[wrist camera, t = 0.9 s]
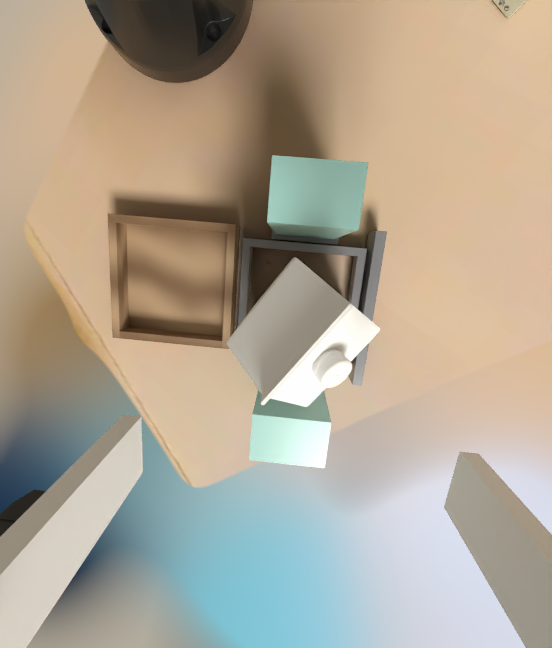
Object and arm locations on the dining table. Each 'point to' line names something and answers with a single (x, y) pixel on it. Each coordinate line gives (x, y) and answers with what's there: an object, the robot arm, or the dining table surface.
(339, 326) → the milk carton
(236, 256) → the tray
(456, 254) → the dining table surface
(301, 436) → the holder
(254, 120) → the dining table surface
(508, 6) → the skincare box
